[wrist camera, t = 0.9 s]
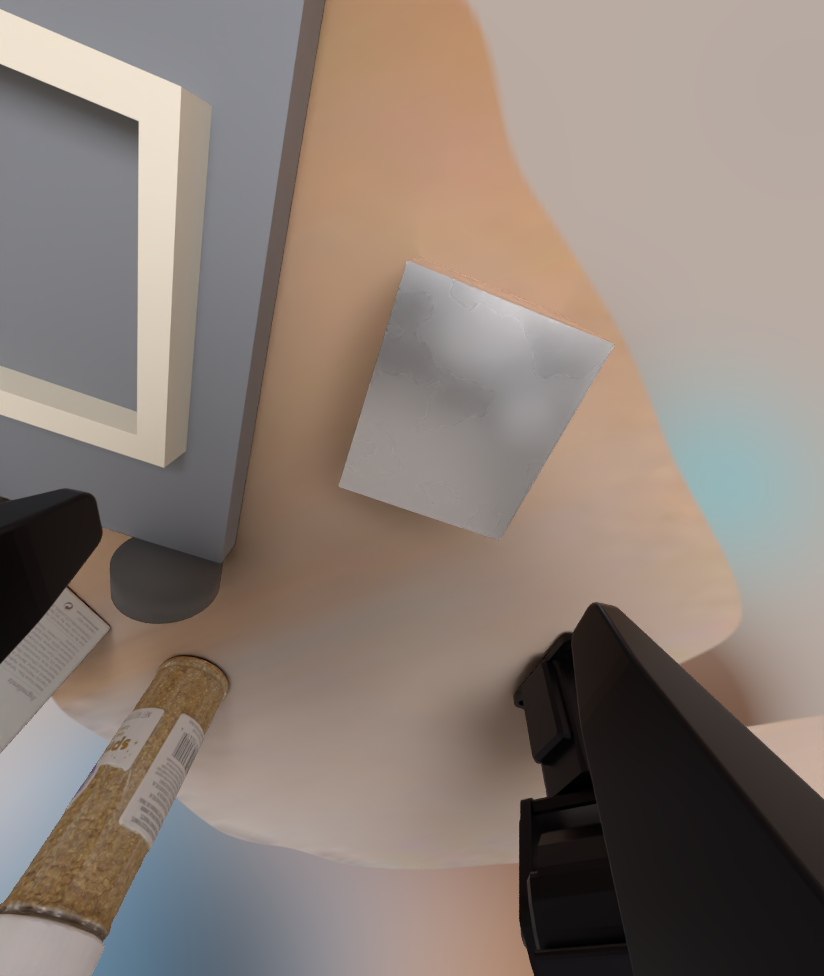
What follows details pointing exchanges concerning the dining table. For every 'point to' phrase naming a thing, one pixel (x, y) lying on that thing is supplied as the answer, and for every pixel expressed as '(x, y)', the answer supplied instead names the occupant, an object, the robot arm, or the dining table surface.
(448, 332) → the block
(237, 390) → the chassis
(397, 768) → the dining table surface
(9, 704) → the small box
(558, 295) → the dining table surface
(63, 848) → the sprinkles bottle
